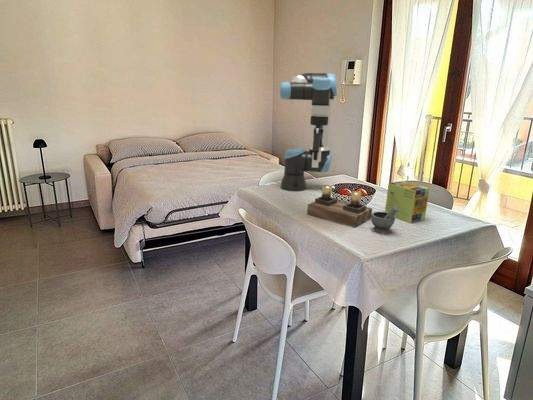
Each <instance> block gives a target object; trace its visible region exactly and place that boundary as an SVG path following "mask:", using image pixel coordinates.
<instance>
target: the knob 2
mask: <svg viewBox="0 0 533 400" xmlns="http://www.w3.org/2000/svg"><path fill="white" fill-rule="evenodd" d="M361 197H362V192H361V191H359V190H358V191H357V190H353V191H351V192H350V201H349V203H351V204H355V205H358V204H361V199H362V198H361Z"/></svg>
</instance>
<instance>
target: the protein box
mask: <svg viewBox="0 0 533 400" xmlns="http://www.w3.org/2000/svg"><path fill="white" fill-rule="evenodd" d="M430 190H431V189H430V187H428V186H424V185H420V184H417V183H412V182H408V181H405V180H401V181H394V182H389V183H388V187H387V193H386V194H387V195H386V200H385V201H386V202H385V207H384V208H385V209H384V212H387V213H389V212H390V211H391V210H392V208H393V206H395V207H397V208H398V209H399V211H398V212H396V214H395V215H394V216H396V217H395V219H398V220H401V221H404V222H407V223H409V224H413V223H417V222H420V221H424V220H425V219H426V213H427V207H428V200H429V193H430Z"/></svg>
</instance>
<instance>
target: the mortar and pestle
mask: <svg viewBox="0 0 533 400" xmlns="http://www.w3.org/2000/svg"><path fill="white" fill-rule="evenodd" d="M398 211H399V209H398V208H397V207H395V206H393V208H392V210H391V211H390V212H389V213H387V212H385V211H374V212H373V211H372V214H371V219H370V220H371V223H372V225H373V226H374V227H373V230H374V231H375V232H376V233H379V234H388V233H389V232H390V229H391V228H392V226H393V225H394V224H395V221H396V218H395V217H396V216H394V215H395V214H396V212H398Z"/></svg>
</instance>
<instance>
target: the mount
mask: <svg viewBox="0 0 533 400" xmlns="http://www.w3.org/2000/svg"><path fill="white" fill-rule="evenodd" d="M372 213H373V208H371V207H368V206H367V205H365V204H361V203H360V204H358V205H355V204H351V203H350V202H348V201H347V202H346V201H343V200H338V198H336V197H332V196H331V197H330V198H325V197H322V195H321V196H319V197H316V198H315V199H314V201H313V202H310V203H308V204H307V213H306V214H307V215H308V216H312V217H315V218H319V219H323V220H327V221H328V222H333V223H337V224H340V225H345V226H348V227H351V228H357V227H359V226H361V225H362V224H364V223H366V222H368V221H369V220H371V214H372Z"/></svg>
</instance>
